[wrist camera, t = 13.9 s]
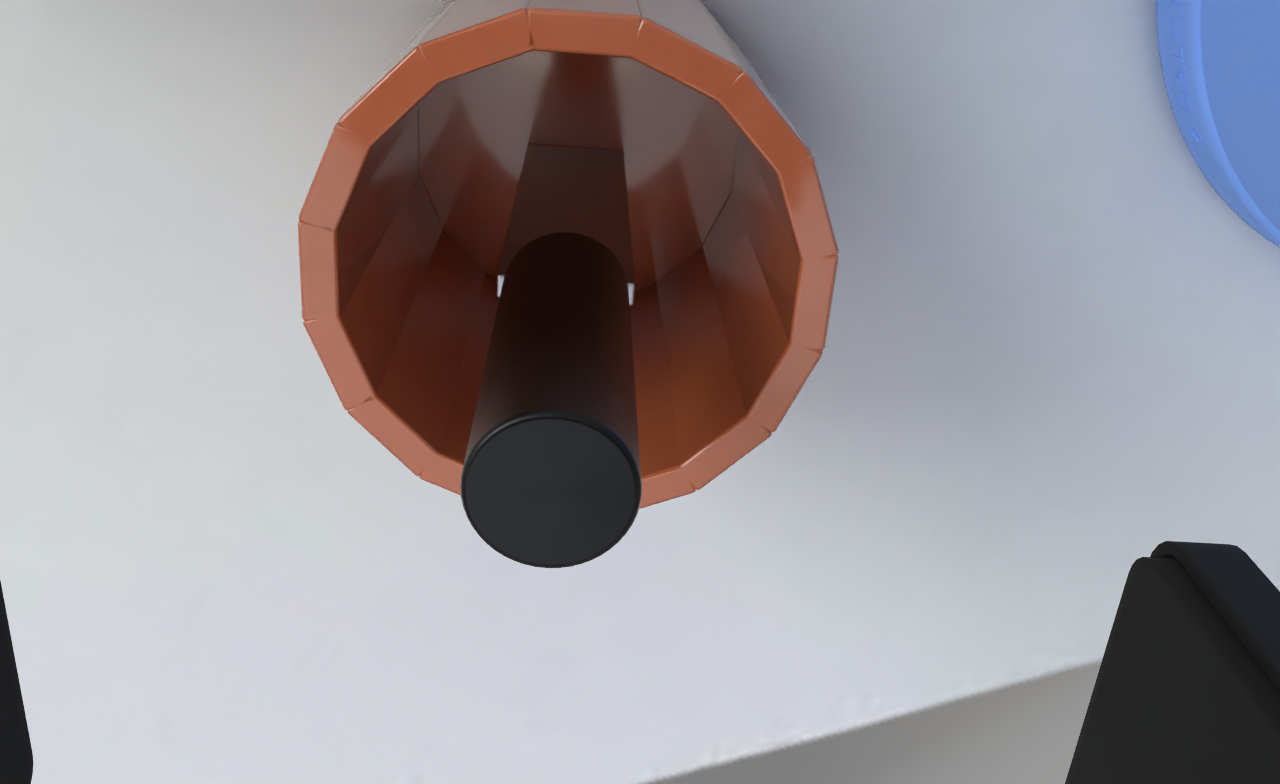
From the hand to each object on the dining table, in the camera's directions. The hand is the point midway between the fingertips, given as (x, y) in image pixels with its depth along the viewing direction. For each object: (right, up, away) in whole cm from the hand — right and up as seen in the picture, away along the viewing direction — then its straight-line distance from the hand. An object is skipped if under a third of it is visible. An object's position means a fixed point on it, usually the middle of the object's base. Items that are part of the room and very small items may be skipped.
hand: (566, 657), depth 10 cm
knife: (-1, +8, +17) cm, 19 cm away
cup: (-1, +8, +18) cm, 20 cm away
